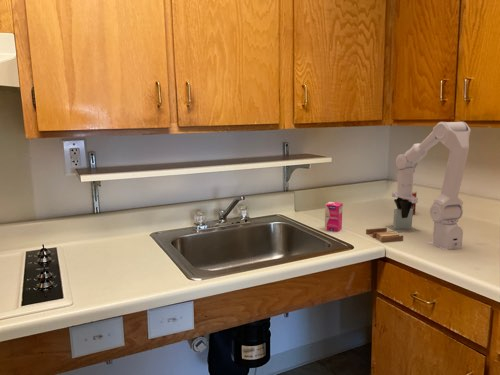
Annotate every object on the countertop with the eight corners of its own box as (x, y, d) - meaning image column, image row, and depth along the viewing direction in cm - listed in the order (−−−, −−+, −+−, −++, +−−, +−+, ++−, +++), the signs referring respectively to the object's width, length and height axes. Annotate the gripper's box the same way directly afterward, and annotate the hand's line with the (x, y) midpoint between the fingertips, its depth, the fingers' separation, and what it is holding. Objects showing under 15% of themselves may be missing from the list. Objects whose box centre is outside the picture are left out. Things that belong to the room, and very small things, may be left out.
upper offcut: (399, 237, 151) (399, 234, 151) (382, 238, 149) (382, 236, 149) (393, 234, 155) (393, 231, 154) (376, 235, 153) (376, 233, 153)
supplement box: (324, 231, 165) (324, 204, 163) (328, 228, 170) (329, 201, 168) (338, 233, 162) (339, 205, 160) (342, 229, 167) (343, 202, 165)
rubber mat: (420, 232, 163) (420, 230, 163) (398, 234, 160) (398, 232, 160) (405, 225, 172) (405, 224, 172) (384, 227, 170) (384, 226, 170)
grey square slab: (411, 228, 166) (413, 209, 165) (395, 229, 165) (396, 209, 163) (409, 227, 168) (410, 208, 166) (392, 228, 166) (394, 209, 165)
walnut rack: (403, 242, 150) (403, 236, 149) (382, 244, 148) (382, 237, 148) (385, 233, 161) (385, 227, 161) (365, 235, 159) (366, 229, 159)
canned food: (398, 214, 192) (399, 192, 190) (397, 211, 199) (399, 189, 198) (415, 215, 190) (417, 192, 188) (414, 212, 197) (415, 189, 195)
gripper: (386, 181, 169) (384, 213, 171) (407, 187, 155) (405, 222, 158) (401, 181, 171) (399, 212, 173) (423, 186, 157) (420, 220, 159)
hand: (403, 217), depth 165 cm, fingers closed on grey square slab, 2 cm apart
